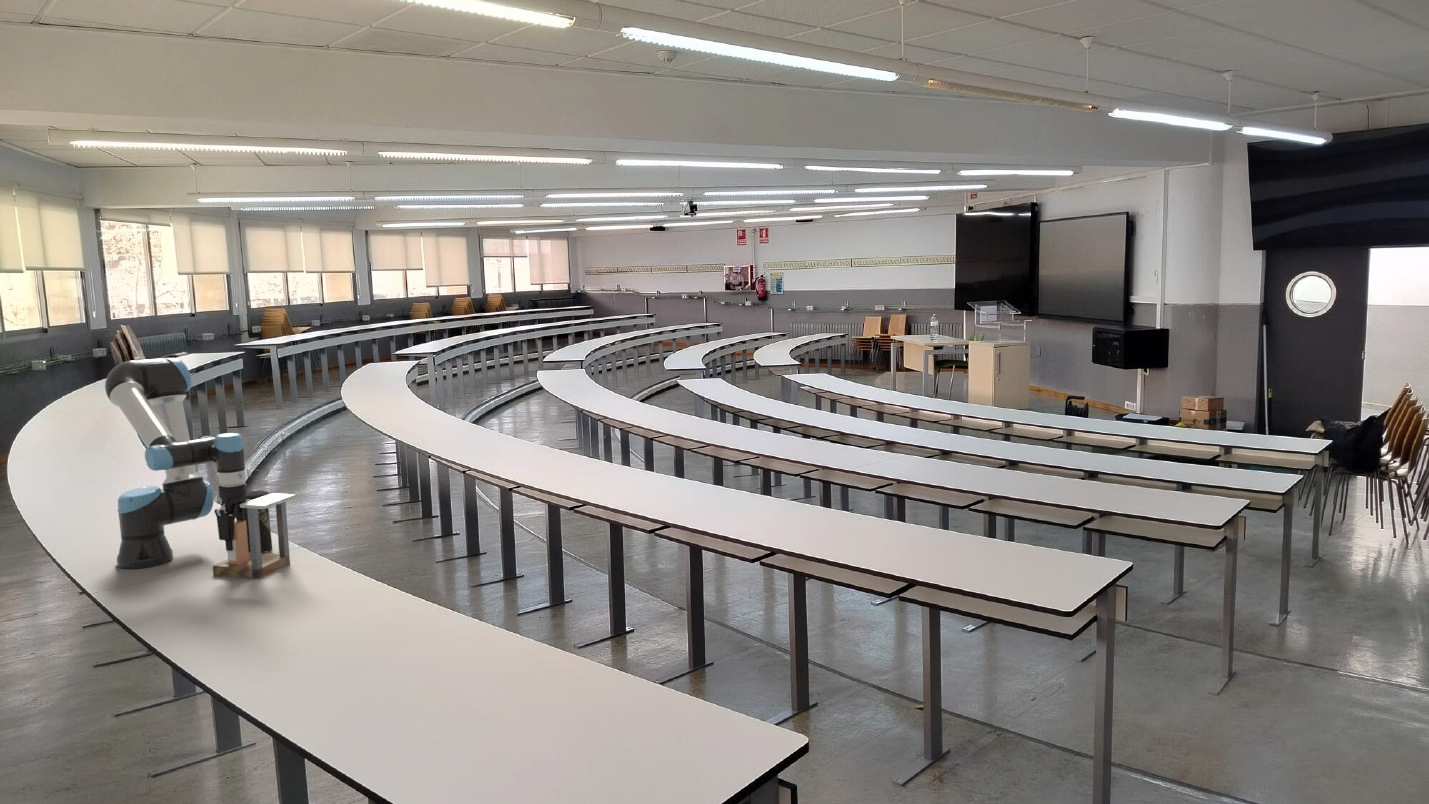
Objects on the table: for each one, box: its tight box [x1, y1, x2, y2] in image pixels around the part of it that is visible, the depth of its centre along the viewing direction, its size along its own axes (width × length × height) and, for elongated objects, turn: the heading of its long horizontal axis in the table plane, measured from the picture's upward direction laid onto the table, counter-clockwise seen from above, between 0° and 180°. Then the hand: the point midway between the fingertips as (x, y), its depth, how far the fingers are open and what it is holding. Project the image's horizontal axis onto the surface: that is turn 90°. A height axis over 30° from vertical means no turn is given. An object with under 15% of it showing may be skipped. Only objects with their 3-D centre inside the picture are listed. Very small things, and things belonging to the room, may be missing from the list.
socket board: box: [212, 552, 291, 580], centre depth 276 cm, size 16×14×3 cm
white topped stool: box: [240, 492, 297, 580], centre depth 273 cm, size 8×14×23 cm, turn 167°
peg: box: [228, 519, 249, 565], centre depth 274 cm, size 4×4×14 cm
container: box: [245, 489, 273, 553], centre depth 294 cm, size 9×9×20 cm
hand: (238, 557), depth 274 cm, fingers closed on peg, 4 cm apart
